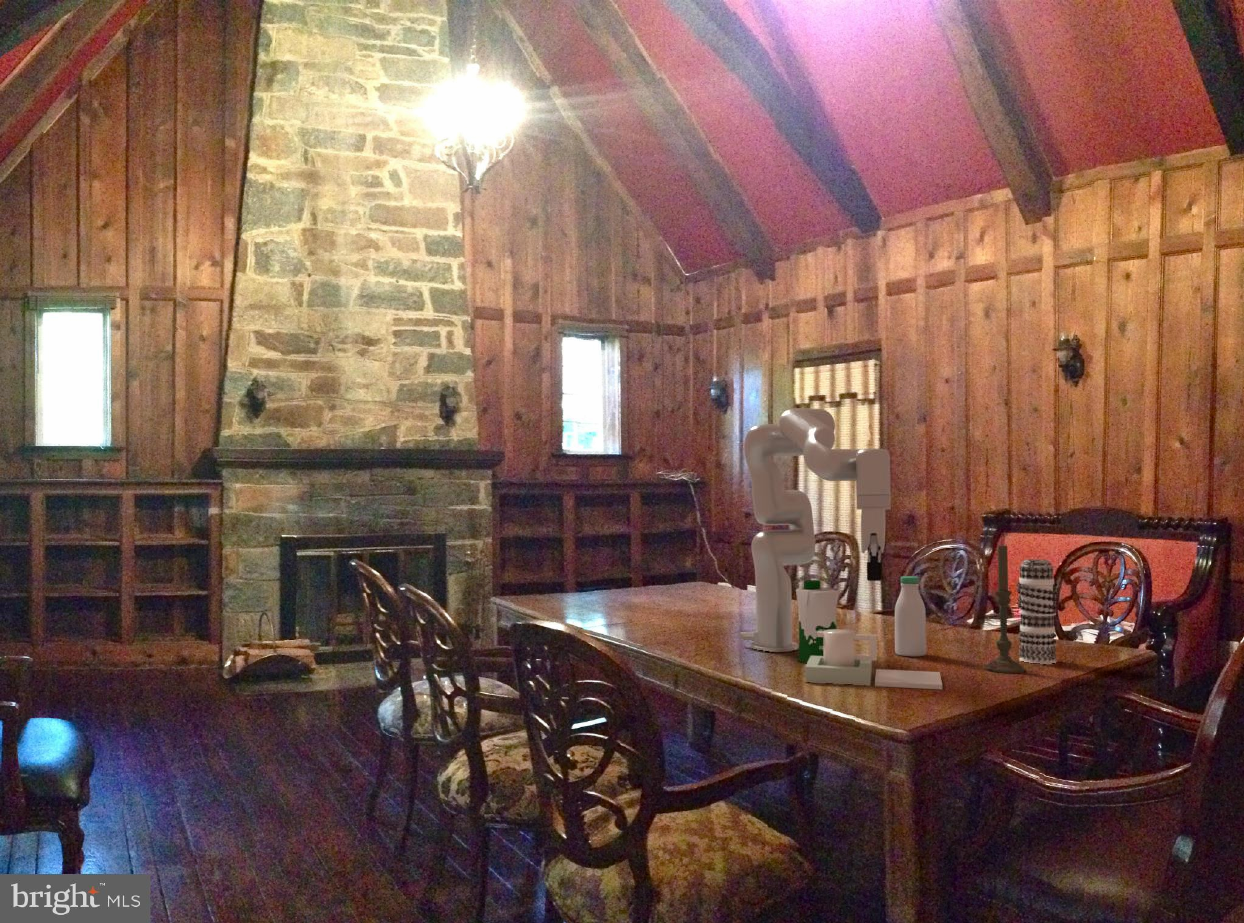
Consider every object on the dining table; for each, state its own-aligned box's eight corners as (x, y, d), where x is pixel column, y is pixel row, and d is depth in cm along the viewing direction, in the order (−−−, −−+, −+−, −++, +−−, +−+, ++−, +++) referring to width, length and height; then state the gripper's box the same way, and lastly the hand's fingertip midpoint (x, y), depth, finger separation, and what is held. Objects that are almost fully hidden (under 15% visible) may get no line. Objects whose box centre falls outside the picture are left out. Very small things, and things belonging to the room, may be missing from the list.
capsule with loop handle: (816, 679, 216) (816, 633, 216) (819, 673, 222) (818, 628, 222) (876, 682, 212) (875, 635, 212) (877, 676, 219) (876, 630, 219)
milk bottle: (928, 657, 241) (926, 578, 242) (896, 656, 243) (895, 577, 243) (924, 652, 249) (923, 575, 249) (894, 651, 250) (893, 574, 251)
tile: (874, 685, 209) (874, 681, 209) (876, 673, 222) (876, 669, 222) (942, 689, 205) (942, 684, 205) (939, 676, 218) (939, 672, 218)
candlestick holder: (976, 666, 230) (975, 541, 230) (1013, 665, 231) (1011, 541, 231) (994, 673, 221) (992, 544, 221) (1032, 672, 221) (1030, 543, 222)
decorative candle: (1026, 656, 242) (1025, 557, 243) (1064, 661, 235) (1062, 559, 236) (1011, 661, 236) (1009, 559, 236) (1049, 666, 229) (1047, 561, 230)
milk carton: (820, 658, 242) (819, 578, 242) (844, 664, 234) (843, 582, 234) (792, 661, 238) (792, 580, 238) (816, 667, 230) (815, 584, 230)
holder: (805, 682, 213) (805, 666, 213) (810, 670, 226) (810, 655, 226) (870, 685, 209) (870, 669, 209) (871, 673, 222) (871, 658, 222)
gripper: (857, 502, 226) (858, 574, 226) (855, 503, 210) (856, 582, 209) (890, 502, 224) (891, 575, 224) (890, 503, 208) (892, 582, 207)
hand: (874, 578), depth 216 cm, fingers open, 9 cm apart
